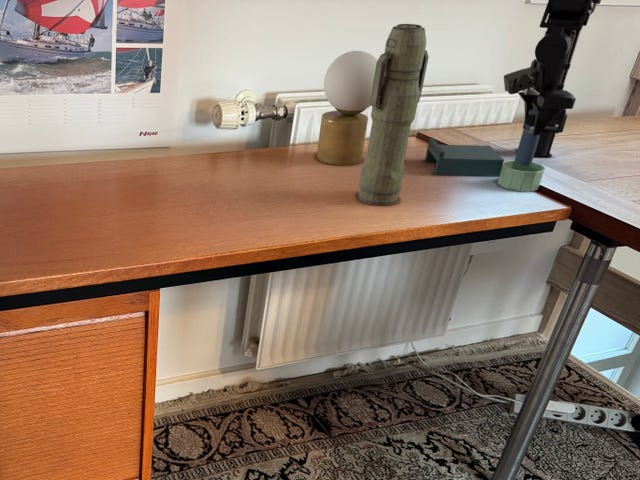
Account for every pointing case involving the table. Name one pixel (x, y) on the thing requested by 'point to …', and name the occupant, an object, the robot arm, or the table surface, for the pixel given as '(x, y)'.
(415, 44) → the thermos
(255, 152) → the table surface
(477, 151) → the dark green stepped platform
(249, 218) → the table surface
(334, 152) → the lamp
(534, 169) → the green bowl
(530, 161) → the vaping device
